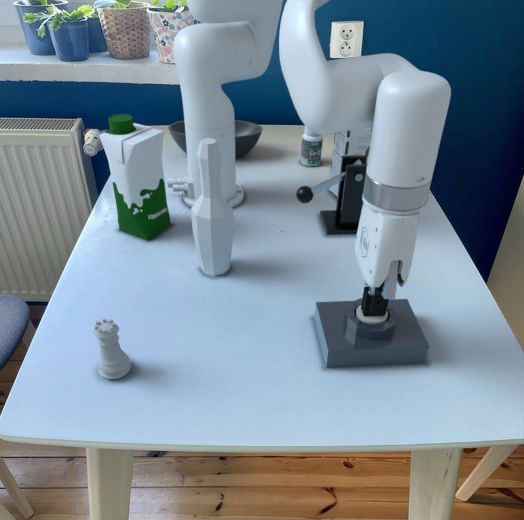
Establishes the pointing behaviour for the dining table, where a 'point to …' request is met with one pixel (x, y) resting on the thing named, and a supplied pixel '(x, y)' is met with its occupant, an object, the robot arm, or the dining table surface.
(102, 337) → the rook chess piece
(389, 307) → the block
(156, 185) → the milk carton
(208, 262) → the low poly bottle
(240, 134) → the bowl
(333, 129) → the robot arm
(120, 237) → the dining table surface
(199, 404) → the dining table surface
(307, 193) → the ball knob lever
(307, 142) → the pill bottle
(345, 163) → the lever bracket
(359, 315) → the white push button
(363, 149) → the candy box
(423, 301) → the dining table surface
